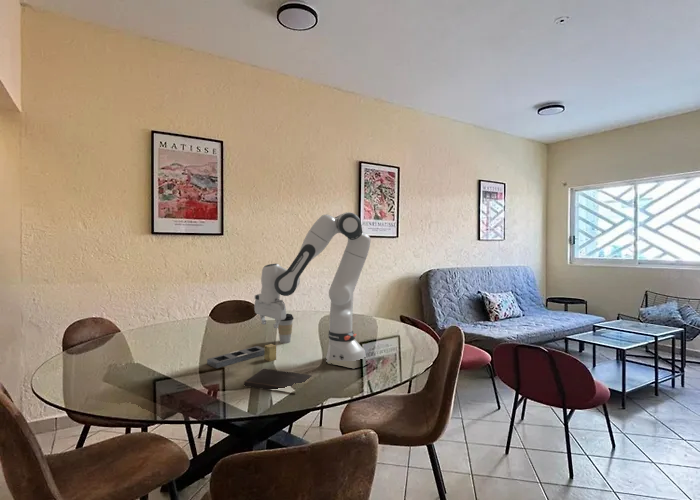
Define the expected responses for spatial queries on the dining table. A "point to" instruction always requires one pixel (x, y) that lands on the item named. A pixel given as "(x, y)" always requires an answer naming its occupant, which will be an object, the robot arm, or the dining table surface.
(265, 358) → the block
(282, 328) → the coffee cup
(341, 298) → the robot arm
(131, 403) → the dining table surface
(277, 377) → the hardcover book
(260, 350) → the grey slotted tray
